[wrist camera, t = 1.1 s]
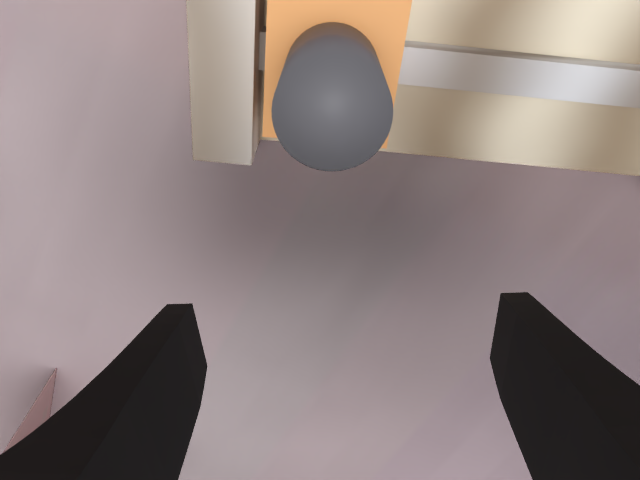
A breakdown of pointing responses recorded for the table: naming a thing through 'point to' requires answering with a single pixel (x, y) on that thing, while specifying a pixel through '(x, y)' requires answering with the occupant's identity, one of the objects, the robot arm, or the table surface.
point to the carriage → (332, 77)
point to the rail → (453, 82)
